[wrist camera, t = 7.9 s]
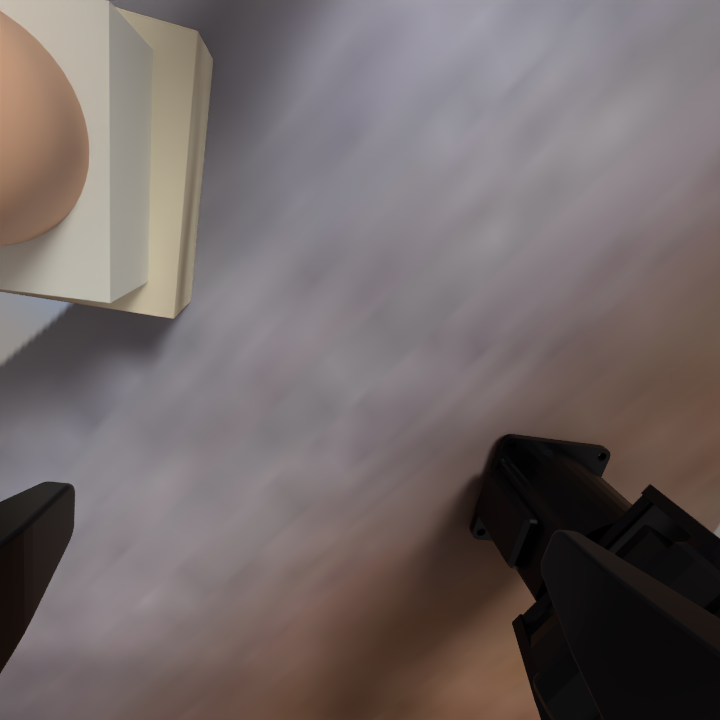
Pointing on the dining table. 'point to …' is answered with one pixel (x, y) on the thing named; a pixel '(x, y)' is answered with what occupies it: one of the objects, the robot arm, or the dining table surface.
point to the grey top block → (94, 156)
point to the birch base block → (170, 167)
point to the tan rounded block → (37, 138)
